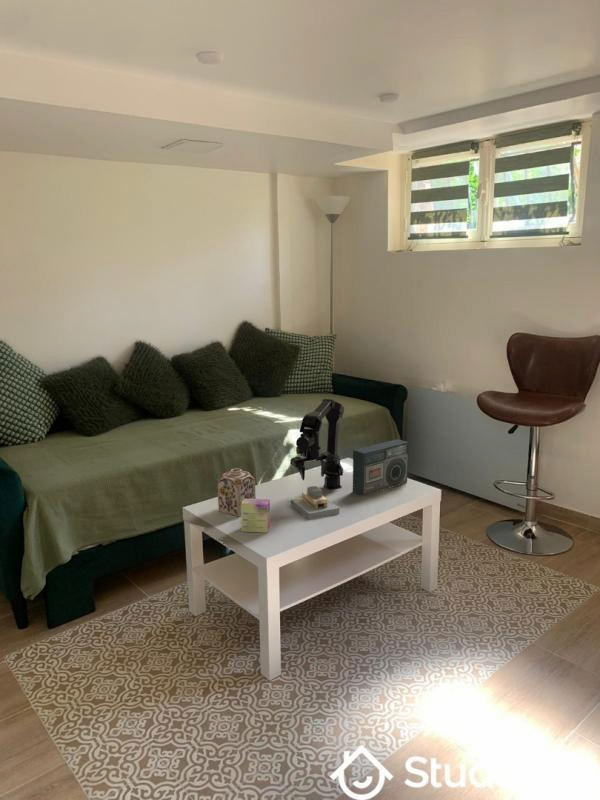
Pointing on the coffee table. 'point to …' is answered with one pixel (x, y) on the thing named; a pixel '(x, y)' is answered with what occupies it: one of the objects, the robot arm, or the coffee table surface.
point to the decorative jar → (235, 491)
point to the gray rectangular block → (314, 492)
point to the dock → (314, 513)
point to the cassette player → (380, 466)
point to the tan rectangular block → (314, 500)
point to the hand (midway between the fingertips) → (312, 478)
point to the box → (255, 515)
